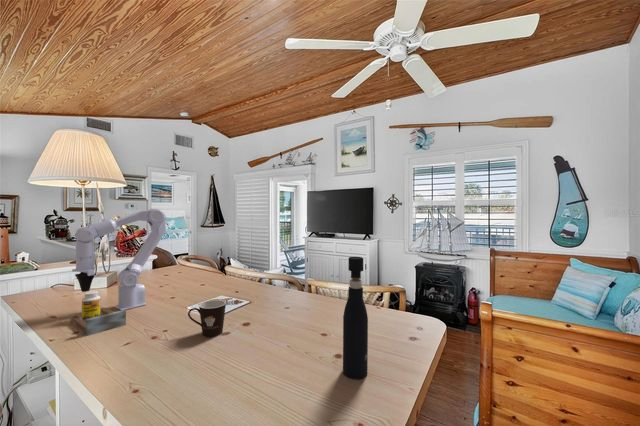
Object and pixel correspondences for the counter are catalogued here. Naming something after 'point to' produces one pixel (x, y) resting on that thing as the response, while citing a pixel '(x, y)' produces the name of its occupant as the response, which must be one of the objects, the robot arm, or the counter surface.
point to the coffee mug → (211, 317)
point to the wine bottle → (355, 325)
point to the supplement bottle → (91, 305)
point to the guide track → (100, 322)
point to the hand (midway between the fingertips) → (85, 291)
